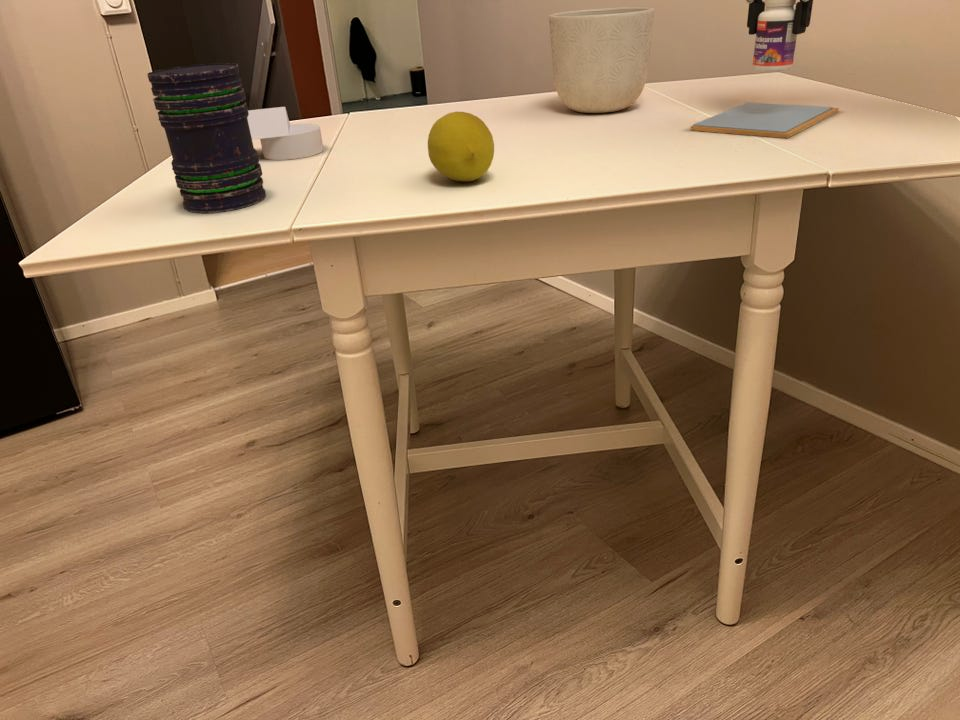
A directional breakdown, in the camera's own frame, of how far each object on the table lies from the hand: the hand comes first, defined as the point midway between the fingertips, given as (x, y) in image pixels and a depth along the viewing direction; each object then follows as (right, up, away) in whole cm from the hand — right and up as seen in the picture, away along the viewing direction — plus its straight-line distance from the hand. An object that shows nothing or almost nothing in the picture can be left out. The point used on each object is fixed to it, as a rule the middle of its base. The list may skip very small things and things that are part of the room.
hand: (776, 32), depth 99 cm
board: (+1, -10, +6) cm, 12 cm away
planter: (-21, -3, +23) cm, 31 cm away
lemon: (-44, -24, -12) cm, 51 cm away
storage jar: (-73, -27, -13) cm, 78 cm away
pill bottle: (0, -4, +2) cm, 5 cm away
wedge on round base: (-72, -15, +8) cm, 74 cm away
